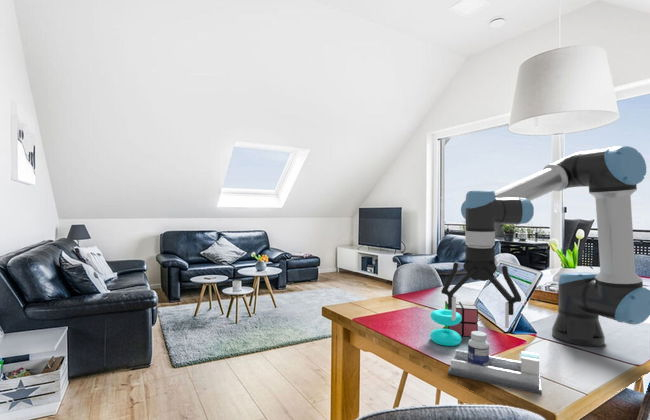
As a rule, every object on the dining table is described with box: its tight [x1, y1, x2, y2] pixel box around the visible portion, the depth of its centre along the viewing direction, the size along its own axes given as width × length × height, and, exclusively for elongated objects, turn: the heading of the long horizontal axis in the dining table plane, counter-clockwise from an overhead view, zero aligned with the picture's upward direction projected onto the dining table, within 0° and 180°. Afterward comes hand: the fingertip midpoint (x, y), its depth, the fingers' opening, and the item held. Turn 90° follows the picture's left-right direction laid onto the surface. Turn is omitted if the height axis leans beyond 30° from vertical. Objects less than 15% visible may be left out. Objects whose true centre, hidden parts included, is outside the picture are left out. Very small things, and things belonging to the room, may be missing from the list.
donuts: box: [429, 308, 462, 347], centre depth 124 cm, size 10×10×10 cm
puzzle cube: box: [444, 300, 479, 338], centre depth 134 cm, size 10×10×10 cm
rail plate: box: [447, 349, 543, 395], centre depth 100 cm, size 22×11×4 cm, turn 62°
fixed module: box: [520, 350, 540, 376], centre depth 96 cm, size 4×6×6 cm
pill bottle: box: [467, 330, 490, 366], centre depth 102 cm, size 5×5×10 cm
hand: (479, 322), depth 102 cm, fingers open, 13 cm apart
